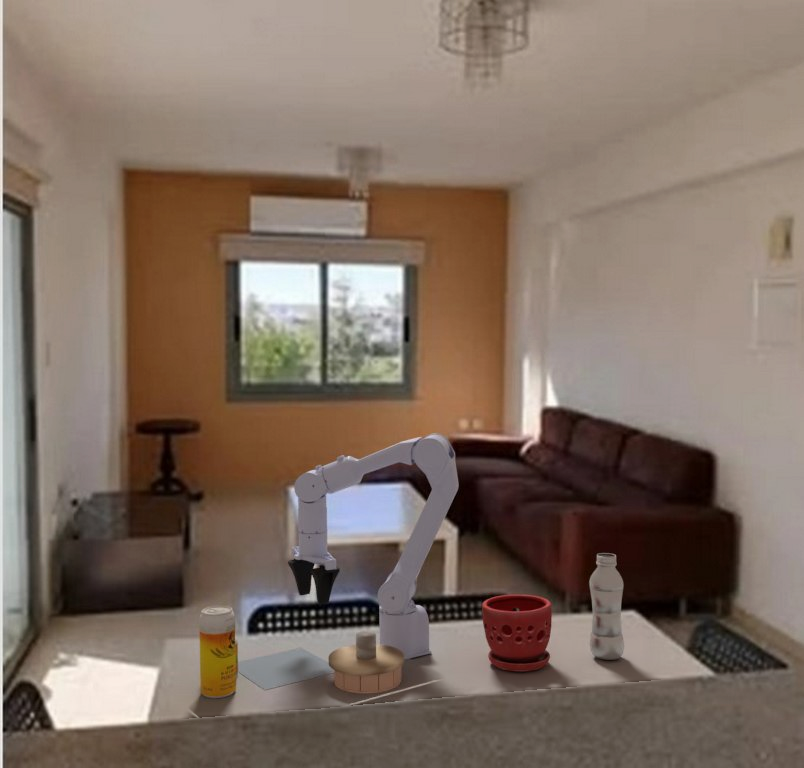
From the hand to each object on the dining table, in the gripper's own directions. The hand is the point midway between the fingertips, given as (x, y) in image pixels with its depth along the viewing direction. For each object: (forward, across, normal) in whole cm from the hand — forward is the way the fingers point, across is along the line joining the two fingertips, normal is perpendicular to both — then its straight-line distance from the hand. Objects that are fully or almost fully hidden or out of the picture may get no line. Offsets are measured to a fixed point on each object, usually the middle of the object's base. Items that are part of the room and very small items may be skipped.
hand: (313, 598), depth 181 cm
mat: (+10, +6, -10) cm, 16 cm away
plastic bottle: (+11, +38, +43) cm, 58 cm away
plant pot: (+11, +30, +27) cm, 42 cm away
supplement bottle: (+11, +3, -21) cm, 24 cm away
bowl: (+11, +21, -1) cm, 24 cm away
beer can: (+11, +10, -25) cm, 29 cm away
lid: (+7, +21, -1) cm, 22 cm away
